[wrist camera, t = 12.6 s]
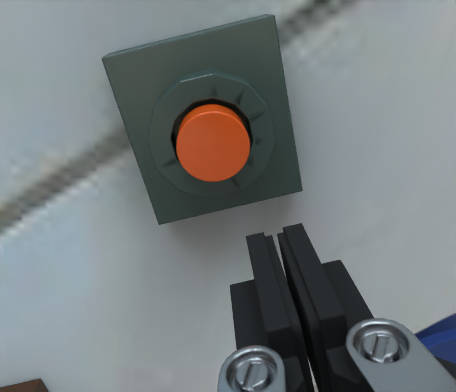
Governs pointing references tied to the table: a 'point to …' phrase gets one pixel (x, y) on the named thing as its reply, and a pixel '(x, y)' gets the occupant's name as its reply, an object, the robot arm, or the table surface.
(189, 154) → the button
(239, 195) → the box
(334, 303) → the robot arm
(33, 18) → the table surface
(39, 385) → the panel
